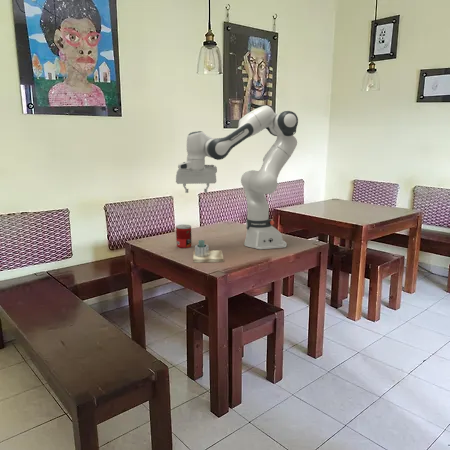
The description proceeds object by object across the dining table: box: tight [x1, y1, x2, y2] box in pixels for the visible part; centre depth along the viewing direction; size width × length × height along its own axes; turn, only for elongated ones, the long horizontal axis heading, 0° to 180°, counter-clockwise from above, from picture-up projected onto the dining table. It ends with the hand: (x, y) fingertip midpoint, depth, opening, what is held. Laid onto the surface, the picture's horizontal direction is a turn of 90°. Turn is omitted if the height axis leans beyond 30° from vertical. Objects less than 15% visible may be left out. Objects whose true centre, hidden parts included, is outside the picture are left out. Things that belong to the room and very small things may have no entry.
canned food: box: [175, 224, 192, 249], centre depth 218 cm, size 8×8×11 cm
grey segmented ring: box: [194, 243, 210, 257], centre depth 199 cm, size 6×6×4 cm
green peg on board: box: [192, 239, 225, 264], centre depth 199 cm, size 14×14×8 cm
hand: (196, 192), depth 210 cm, fingers open, 8 cm apart
